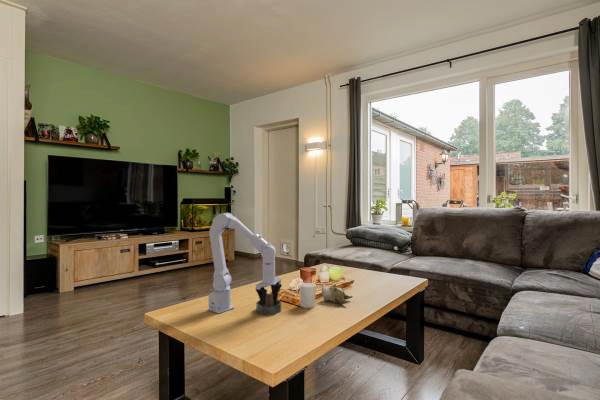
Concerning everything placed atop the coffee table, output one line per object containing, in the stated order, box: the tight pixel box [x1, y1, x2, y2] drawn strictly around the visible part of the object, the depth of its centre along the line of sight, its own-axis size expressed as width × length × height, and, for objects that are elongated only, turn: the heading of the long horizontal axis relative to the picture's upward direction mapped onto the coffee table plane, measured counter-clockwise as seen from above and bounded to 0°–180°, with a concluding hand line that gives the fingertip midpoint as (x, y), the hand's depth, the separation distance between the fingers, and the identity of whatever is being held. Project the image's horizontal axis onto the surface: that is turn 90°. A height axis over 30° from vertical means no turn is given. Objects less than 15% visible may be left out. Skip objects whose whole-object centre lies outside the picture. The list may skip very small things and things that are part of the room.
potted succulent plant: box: [321, 284, 354, 305], centre depth 163 cm, size 11×9×15 cm
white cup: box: [298, 282, 317, 309], centre depth 157 cm, size 8×8×10 cm
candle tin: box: [255, 299, 282, 316], centre depth 151 cm, size 11×11×4 cm
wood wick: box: [265, 292, 273, 306], centre depth 151 cm, size 5×5×7 cm
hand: (268, 301), depth 151 cm, fingers open, 7 cm apart
